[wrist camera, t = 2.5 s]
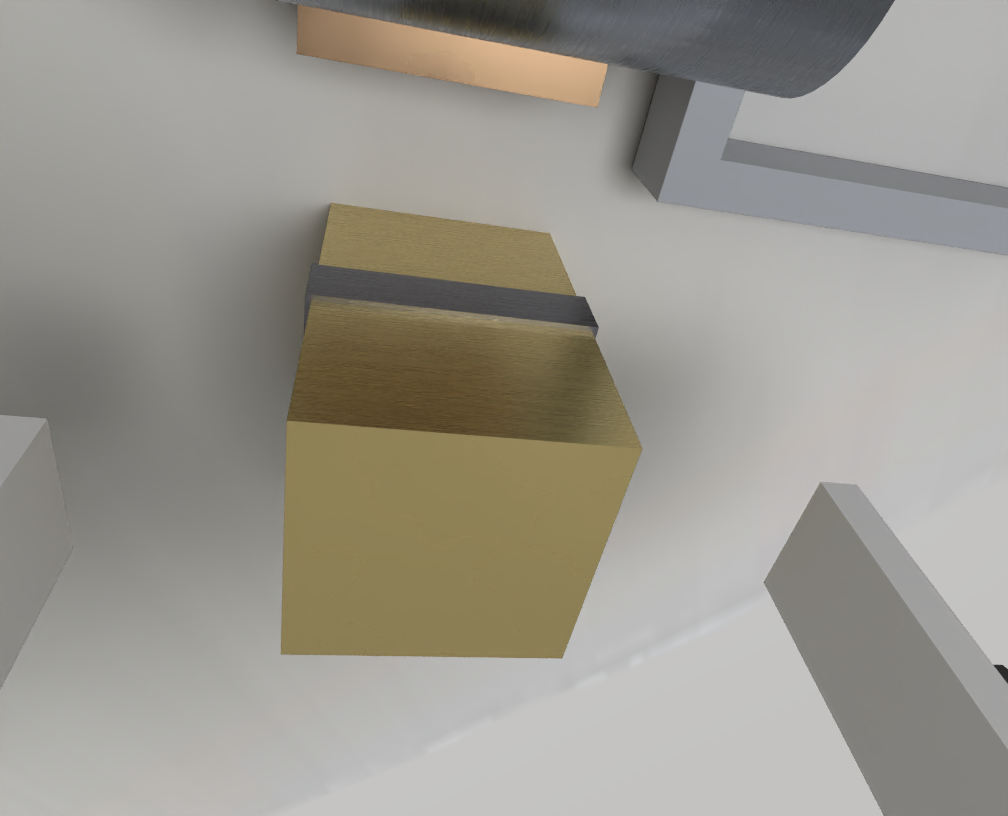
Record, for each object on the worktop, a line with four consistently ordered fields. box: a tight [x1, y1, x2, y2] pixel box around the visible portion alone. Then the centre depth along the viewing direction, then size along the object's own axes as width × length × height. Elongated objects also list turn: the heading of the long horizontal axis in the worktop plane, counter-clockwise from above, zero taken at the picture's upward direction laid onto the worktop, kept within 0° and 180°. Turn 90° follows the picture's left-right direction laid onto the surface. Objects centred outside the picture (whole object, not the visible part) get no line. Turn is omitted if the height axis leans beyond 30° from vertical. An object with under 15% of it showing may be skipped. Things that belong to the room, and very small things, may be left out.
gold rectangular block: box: [281, 203, 642, 658], centre depth 15 cm, size 5×5×8 cm
